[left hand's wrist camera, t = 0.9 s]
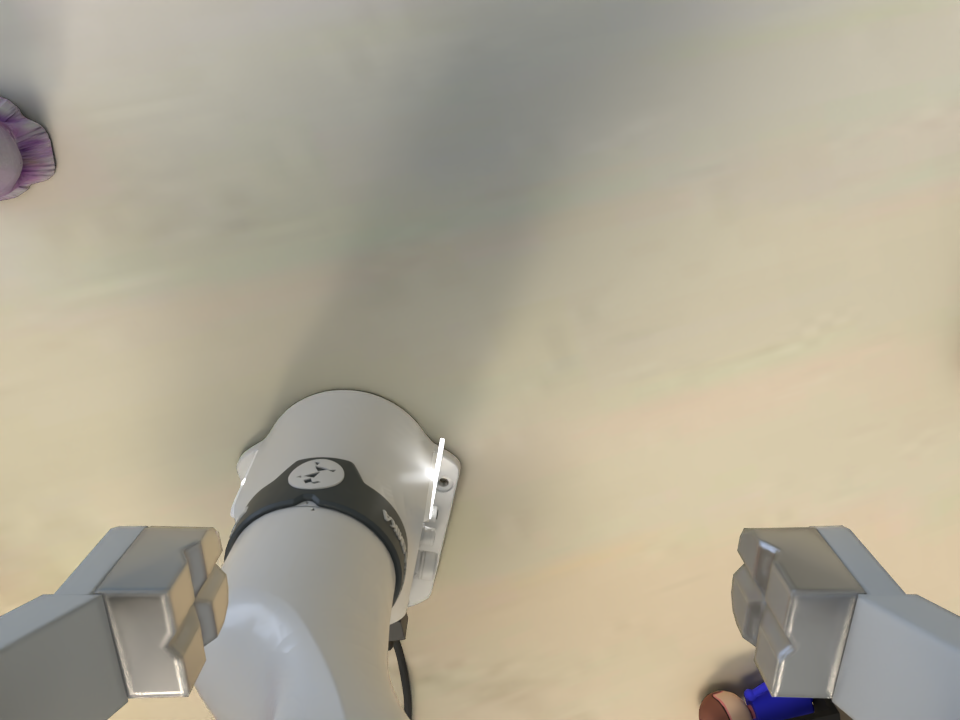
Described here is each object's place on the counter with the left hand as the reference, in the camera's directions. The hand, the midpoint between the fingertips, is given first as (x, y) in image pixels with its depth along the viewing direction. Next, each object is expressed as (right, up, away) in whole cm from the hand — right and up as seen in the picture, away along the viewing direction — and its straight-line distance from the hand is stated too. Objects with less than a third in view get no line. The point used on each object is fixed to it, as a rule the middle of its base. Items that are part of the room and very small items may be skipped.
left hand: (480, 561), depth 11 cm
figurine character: (+29, -29, +57) cm, 70 cm away
